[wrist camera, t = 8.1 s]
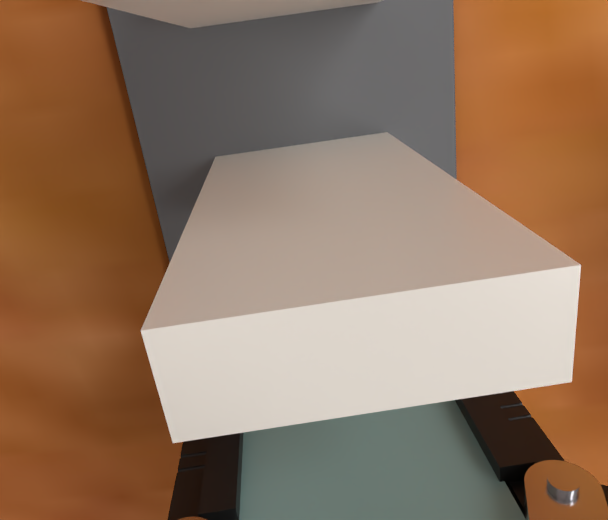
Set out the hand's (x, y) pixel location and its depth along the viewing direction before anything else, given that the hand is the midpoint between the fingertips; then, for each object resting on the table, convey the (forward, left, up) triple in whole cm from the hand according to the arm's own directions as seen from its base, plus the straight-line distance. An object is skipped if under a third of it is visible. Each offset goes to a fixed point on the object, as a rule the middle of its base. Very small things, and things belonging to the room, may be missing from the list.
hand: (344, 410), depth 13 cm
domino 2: (-5, 0, -4) cm, 7 cm away
